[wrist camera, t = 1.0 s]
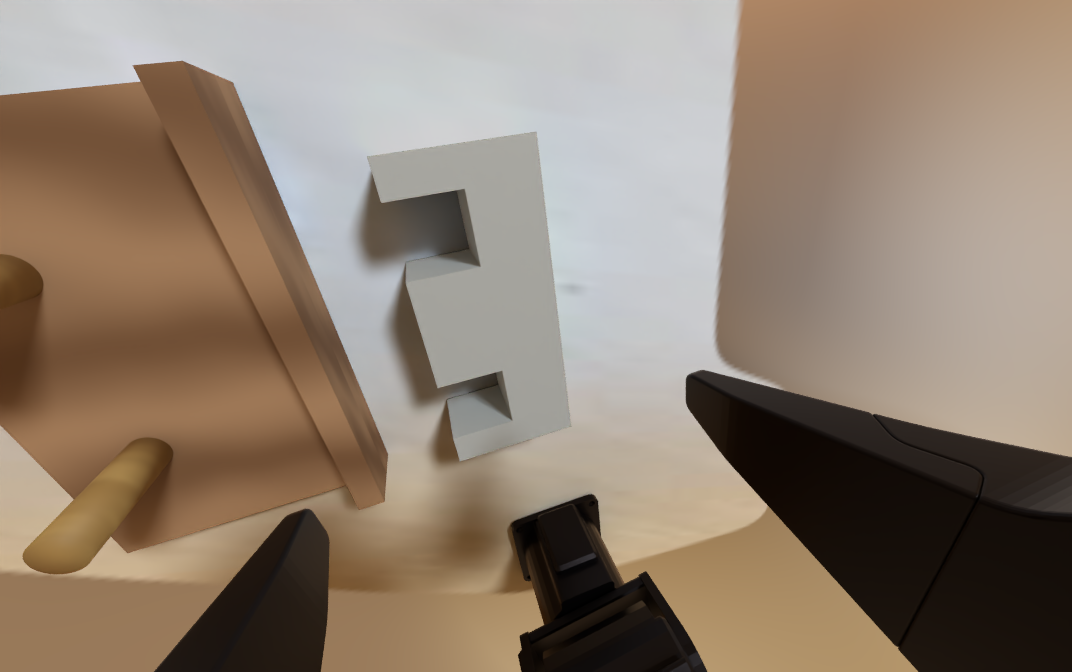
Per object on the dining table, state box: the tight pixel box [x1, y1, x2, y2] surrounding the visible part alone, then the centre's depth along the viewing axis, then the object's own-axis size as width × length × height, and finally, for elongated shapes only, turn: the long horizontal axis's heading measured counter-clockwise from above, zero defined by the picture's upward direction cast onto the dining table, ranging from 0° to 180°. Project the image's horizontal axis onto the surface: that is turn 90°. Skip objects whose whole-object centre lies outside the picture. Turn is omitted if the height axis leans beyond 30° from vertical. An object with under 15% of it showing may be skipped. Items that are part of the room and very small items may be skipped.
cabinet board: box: [0, 61, 388, 574], centre depth 14 cm, size 18×12×6 cm, turn 8°
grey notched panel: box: [367, 132, 571, 461], centre depth 18 cm, size 14×6×4 cm, turn 8°
